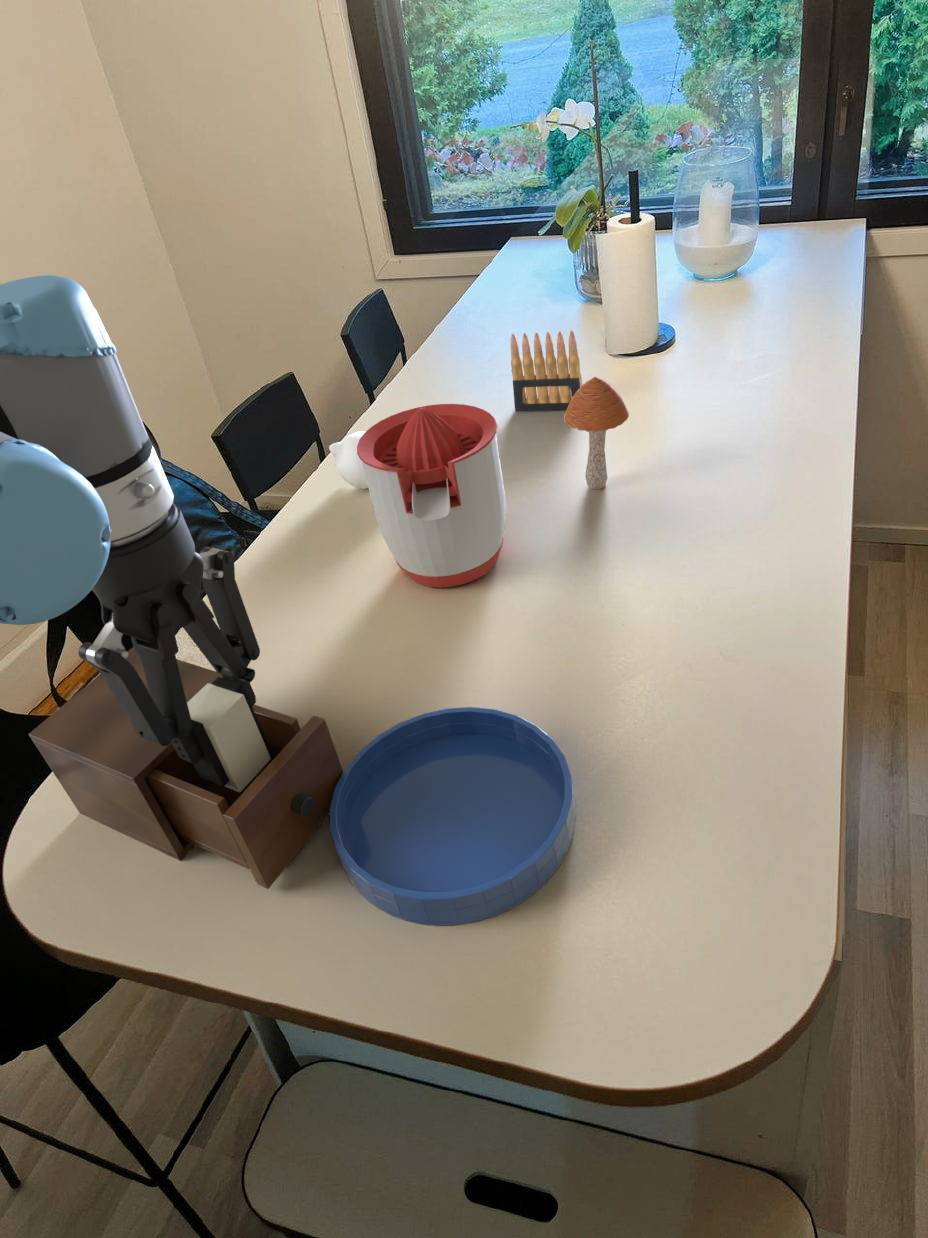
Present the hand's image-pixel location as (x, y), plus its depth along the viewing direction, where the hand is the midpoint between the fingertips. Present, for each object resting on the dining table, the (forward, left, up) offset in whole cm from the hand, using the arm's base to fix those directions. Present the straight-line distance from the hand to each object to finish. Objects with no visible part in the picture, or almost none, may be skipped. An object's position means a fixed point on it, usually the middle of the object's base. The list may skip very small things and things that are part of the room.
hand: (233, 758), depth 73 cm
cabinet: (0, +11, -8) cm, 14 cm away
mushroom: (+62, -6, -8) cm, 63 cm away
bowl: (+7, -16, -8) cm, 19 cm away
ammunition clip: (+82, +11, -8) cm, 83 cm away
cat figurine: (+54, +24, -8) cm, 60 cm away
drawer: (0, 0, -7) cm, 7 cm away
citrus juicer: (+40, +4, -8) cm, 41 cm away
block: (0, 0, -1) cm, 1 cm away
